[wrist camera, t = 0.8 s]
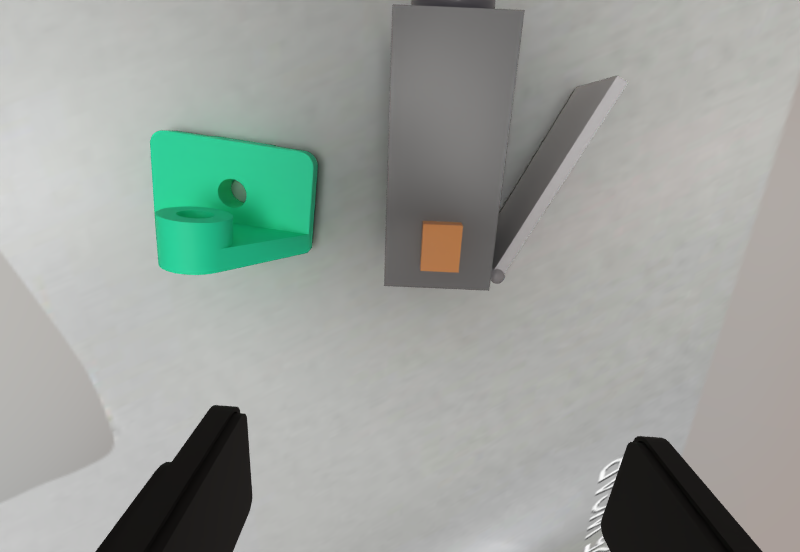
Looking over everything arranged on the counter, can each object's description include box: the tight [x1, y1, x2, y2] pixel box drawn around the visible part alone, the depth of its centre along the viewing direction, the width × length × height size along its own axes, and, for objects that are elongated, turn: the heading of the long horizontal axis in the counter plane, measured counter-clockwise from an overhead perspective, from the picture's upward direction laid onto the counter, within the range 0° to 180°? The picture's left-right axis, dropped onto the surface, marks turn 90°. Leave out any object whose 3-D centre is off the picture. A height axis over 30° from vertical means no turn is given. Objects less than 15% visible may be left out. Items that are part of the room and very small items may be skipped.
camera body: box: [384, 0, 524, 290], centre depth 26 cm, size 18×7×9 cm, turn 178°
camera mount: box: [150, 131, 318, 275], centre depth 28 cm, size 12×8×10 cm, turn 82°
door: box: [491, 75, 628, 284], centre depth 28 cm, size 14×1×6 cm, turn 153°
